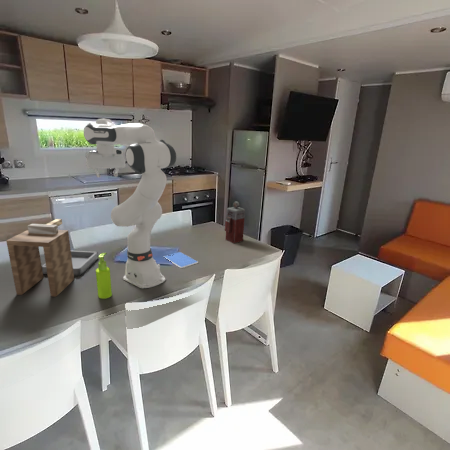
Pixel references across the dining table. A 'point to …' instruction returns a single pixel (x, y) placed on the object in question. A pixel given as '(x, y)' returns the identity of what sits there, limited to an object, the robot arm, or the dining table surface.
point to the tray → (79, 261)
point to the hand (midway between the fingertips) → (107, 176)
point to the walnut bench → (31, 263)
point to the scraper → (45, 227)
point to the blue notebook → (181, 260)
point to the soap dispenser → (103, 278)
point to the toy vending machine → (235, 223)
